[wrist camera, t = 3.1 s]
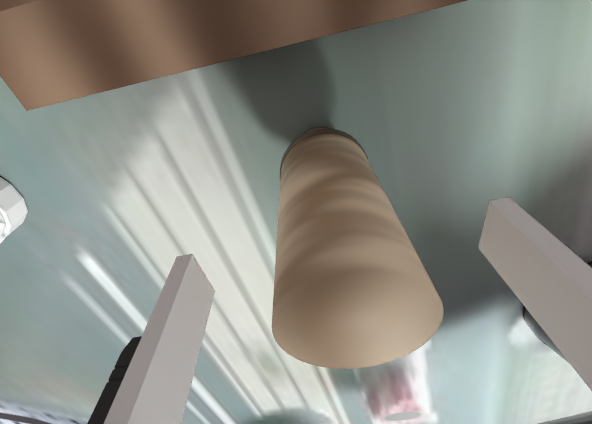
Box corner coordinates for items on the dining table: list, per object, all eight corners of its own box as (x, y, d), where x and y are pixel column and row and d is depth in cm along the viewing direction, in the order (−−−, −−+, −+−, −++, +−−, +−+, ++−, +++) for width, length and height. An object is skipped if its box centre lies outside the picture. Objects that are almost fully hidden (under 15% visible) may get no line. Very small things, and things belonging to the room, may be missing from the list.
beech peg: (352, 102, 21) (455, 252, 8) (359, 173, 24) (437, 359, 11) (273, 120, 22) (247, 285, 9) (290, 187, 25) (291, 376, 12)
